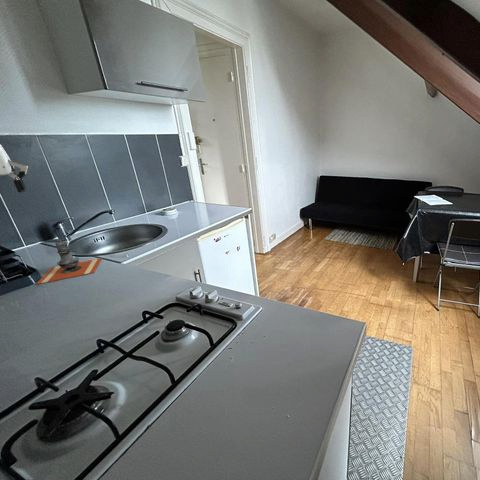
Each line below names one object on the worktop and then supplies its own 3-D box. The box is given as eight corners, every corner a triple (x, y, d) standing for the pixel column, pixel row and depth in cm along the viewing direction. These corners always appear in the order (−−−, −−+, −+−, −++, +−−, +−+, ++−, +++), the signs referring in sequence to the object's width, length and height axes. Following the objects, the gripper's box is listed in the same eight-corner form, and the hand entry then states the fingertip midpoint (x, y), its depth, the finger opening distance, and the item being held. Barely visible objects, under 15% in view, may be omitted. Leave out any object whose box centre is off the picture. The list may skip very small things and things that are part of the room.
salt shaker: (72, 273, 92) (59, 241, 87) (56, 273, 92) (42, 242, 88) (86, 265, 97) (74, 235, 93) (71, 266, 97) (58, 236, 93)
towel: (36, 284, 86) (36, 283, 85) (51, 268, 97) (51, 267, 97) (94, 273, 92) (93, 271, 92) (102, 259, 104) (101, 258, 104)
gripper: (-77, 139, 74) (-45, 199, 80) (9, 137, 81) (32, 192, 87) (-58, 139, 80) (-30, 195, 86) (20, 138, 87) (41, 189, 94)
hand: (2, 193), depth 87 cm, fingers open, 9 cm apart
